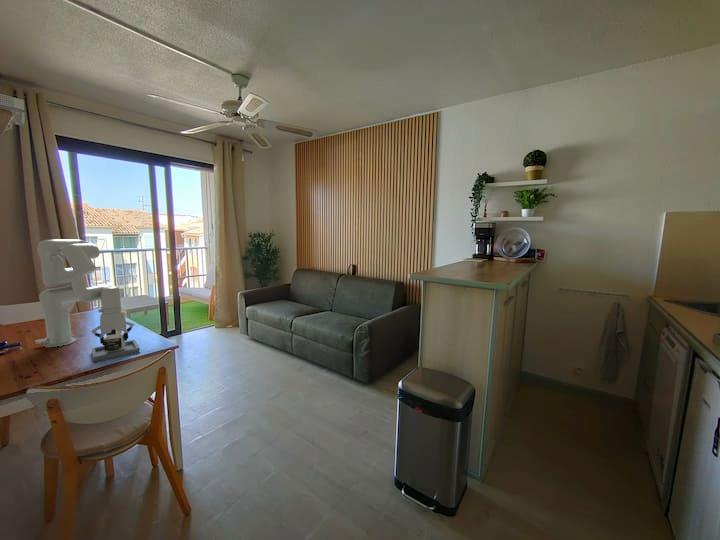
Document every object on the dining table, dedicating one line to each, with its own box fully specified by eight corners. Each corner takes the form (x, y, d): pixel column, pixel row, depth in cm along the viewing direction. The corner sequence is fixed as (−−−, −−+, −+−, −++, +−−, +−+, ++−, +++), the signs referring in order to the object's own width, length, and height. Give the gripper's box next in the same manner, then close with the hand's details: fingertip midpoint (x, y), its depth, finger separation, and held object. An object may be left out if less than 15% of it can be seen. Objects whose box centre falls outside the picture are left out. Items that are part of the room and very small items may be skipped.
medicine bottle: (104, 352, 147) (102, 329, 145) (108, 347, 153) (106, 325, 152) (122, 350, 150) (120, 328, 149) (125, 345, 156) (123, 324, 155)
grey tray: (93, 362, 140) (93, 357, 140) (92, 352, 151) (91, 348, 151) (139, 352, 153) (139, 347, 152) (135, 343, 164) (134, 339, 163)
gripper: (89, 314, 140) (92, 348, 142) (134, 308, 153) (136, 340, 155) (88, 311, 146) (92, 344, 148) (131, 306, 158) (134, 336, 160)
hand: (114, 342), depth 151 cm, fingers closed on medicine bottle, 8 cm apart
